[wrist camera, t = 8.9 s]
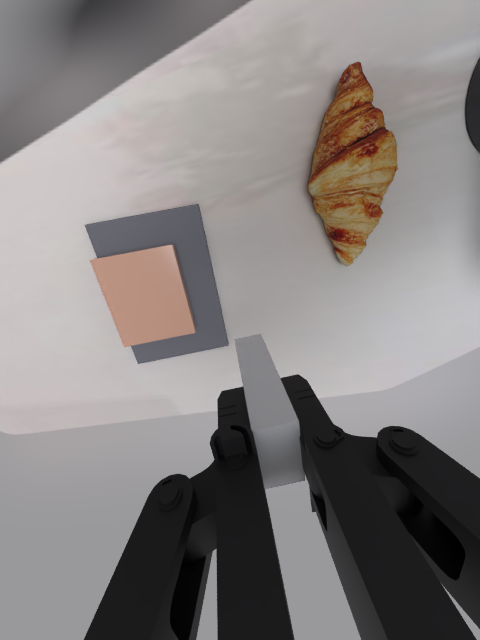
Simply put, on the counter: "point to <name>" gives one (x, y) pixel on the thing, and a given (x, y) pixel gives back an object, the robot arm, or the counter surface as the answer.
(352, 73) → the croissant
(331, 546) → the robot arm
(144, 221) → the mat
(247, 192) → the counter surface
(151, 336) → the block
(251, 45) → the counter surface
